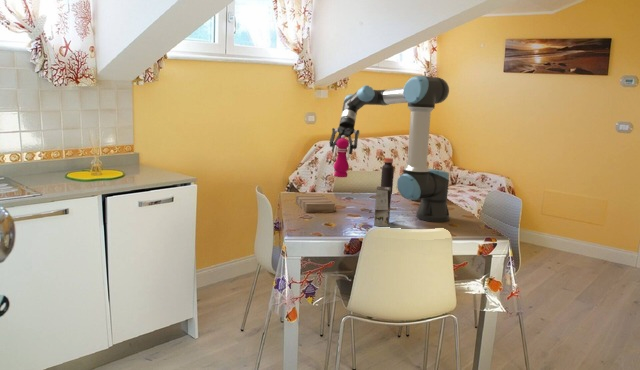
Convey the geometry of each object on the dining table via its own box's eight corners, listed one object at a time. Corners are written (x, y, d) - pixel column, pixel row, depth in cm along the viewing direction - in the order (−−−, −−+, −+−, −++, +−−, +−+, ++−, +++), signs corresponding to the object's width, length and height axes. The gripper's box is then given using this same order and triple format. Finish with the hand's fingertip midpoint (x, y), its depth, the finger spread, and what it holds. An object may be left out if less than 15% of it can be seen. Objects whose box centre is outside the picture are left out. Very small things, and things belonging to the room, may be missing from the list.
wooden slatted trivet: (334, 211, 250) (334, 203, 249) (306, 212, 246) (306, 204, 245) (322, 202, 269) (322, 194, 268) (295, 203, 265) (295, 195, 264)
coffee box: (388, 227, 227) (391, 190, 224) (373, 225, 228) (376, 189, 225) (389, 222, 236) (392, 186, 233) (375, 220, 237) (377, 185, 234)
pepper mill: (338, 177, 250) (341, 136, 246) (330, 175, 256) (332, 134, 252) (351, 177, 253) (353, 135, 249) (342, 174, 259) (345, 134, 255)
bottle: (394, 193, 303) (397, 158, 300) (385, 194, 299) (388, 159, 296) (386, 191, 309) (389, 157, 305) (377, 191, 305) (380, 157, 301)
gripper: (366, 127, 263) (360, 164, 250) (329, 124, 266) (321, 161, 254) (366, 117, 257) (360, 154, 244) (328, 114, 260) (320, 151, 248)
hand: (340, 158), depth 249 cm, fingers closed on pepper mill, 6 cm apart
